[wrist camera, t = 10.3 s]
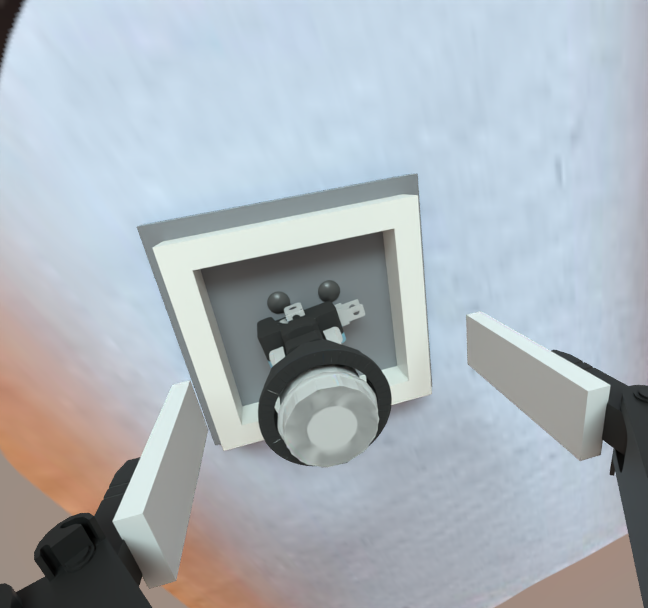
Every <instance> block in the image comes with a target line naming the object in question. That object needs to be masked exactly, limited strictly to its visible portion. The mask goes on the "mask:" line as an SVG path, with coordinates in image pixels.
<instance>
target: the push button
mask: <svg viewBox="0 0 648 608" xmlns="http://www.w3.org/2000/svg"><path fill="white" fill-rule="evenodd" d="M351 304H354V305H355V306H354V307H351V308H349V306H350V305H351ZM293 307H296V308H295V309H292V310H290V309H291V308H293ZM358 311H359V314H358V315H354V314H353V313H355V312H358ZM284 312H285V315H286V317H284V318H281V319H278V320H276V321H275V320H274V319H273V318H272V317H268V318H265V319H263V320H260V321H259V322H258V323H257V338H258V340H259V342H260V344H261V347H262V349H263V351H264V353H265V356H266V358H267V360H268V362H269V365H270V367H271V370H270V373H269V375H268V377H267V380H266V382H265V384H264V388H263V390H262V392H261V395H260V398H259V404H258V423H259V428H260V431H261V434H262V436H263V438H264V440H265V442H266V443H267V445H268V446H269V447H270V448H271V449H272V450H273V451H274V452H275V453H276V454H278V455H279V456H281V457H282V458H284V459H286V460H288V461H290V462H293V463H296V464H300V465H306V466H319V467H330V466H335V465H339V464H344V463H347V462H349V461H350V460H352V459H353V458H355V457H357V456H358V455H360V454H361V453H363V452H364V451H365V450H366V449H367V447H368V446H369V445H370V444H372V443H373V442H374V440H375V439H376V438H377V437H378V436H379V434H380V433H381V432H382V430H383V428H384V427H385V425H386V423H387V420H388V418H389V415H390V411H391V404H392V397H391V390H390V386H389V383H388V381H387V379H386V377H385V375H384V374H383V372H382V371H381V369H380V368H379V366H378V365H377V364H376V363H375V362H374V361H373V360H372V359H371V358H369V357H368V356H366V355H365V354H363V353H361V352H360V351H359V350H357V349H354V348H351V347H348V346H345V345H342V344H341V343H343V342H345V341H346V337H345V334H344V331H343V328H342V326H345V325H348V324H350V323H349V321H352V320H354V319H357V318H360V317H362V316H365V311H364V308H363V305H362V304H359V301H358V300H357V299H356V300H353V301H350V302H348V303H345V304H341V303H339V304H336V305H334V304H333V303H332V302H331V301H327V302H324V303H321V304H318V305H316V306H313V307H310V308H308V309H305V310H303V308H302V305H301V303H295V304H293V305H290V306H287V307H285V308H284ZM356 369H357V370H358V371H360V372H362V373H363V374H364V375H365V376H366V382H365V381H364V380H363V379H361V378H360V377H359V375H358V373H357V371H356ZM278 396H279V398H280V405H281V406H280V408H279V411H278V413H277V411H276V409H275V404H276V401H277V399H278Z"/></svg>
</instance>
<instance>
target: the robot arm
mask: <svg viewBox="0 0 648 608" xmlns="http://www.w3.org/2000/svg"><path fill="white" fill-rule="evenodd" d="M466 327H467V361H468V365H469V366H470V367H472V368H473V369H474V370H475V371H476V372H477V373H478V374H480V375H481V376H482V377H483V378H484V379H485V380H487V381H488V382H489V383H490V384H491V385H492V386H494V387H495V388H496V389H497V390H498V391H499V392H501V393H502V394H503V395H504V396H505V397H506V398H508V399H509V400H510V401H511V402H512V403H513V404H514V405H516V406H517V407H518V408H519V409H520V410H521V411H523V412H524V413H525V414H526V415H527V416H528V417H530V418H531V419H532V420H533V421H534V422H535V423H537V424H538V425H539V426H540V427H541V428H542V429H543V430H545V431H546V432H547V433H548V434H549V435H550V436H552V437H553V438H554V439H555V440H556V441H557V442H559V443H560V444H561V445H562V446H563V447H564V448H566V449H567V450H568V451H569V452H570V453H571V454H573V455H574V456H575V457H576V458H577V459H578V460H579V461H582V460H585V459H589V458H592V457H595V456H599V455H601V449H602V442H603V440H604V441H605V442H606V443H608V444H609V445H610V446H612V447H613V448H614V449H613V455H612V462H611V468H610V475H613V476H614V473H615V472H616V477H617V482H618V486H619V491H620V496H621V501H622V505H623V510H624V515H625V520H626V524H627V529H628V534H629V538H630V543H631V548H632V552H633V558H634V562H635V567H636V572H637V577H638V581H639V586H640V591H641V596H642V600H643V605H644V608H648V386H645V385H633V386H627V385H625V384H623V383H622V382H620V381H618V380H616V379H614V378H612V377H611V376H609V375H607V374H605V373H603V372H601V371H600V370H598V369H596V368H593V367H592V366H590V365H589V364H587V363H585V362H584V363H583V362H582V361H581V360H579V359H578V358H576V357H574V356H572V355H570V354H567V353H564V352H561V351H557V350H552V351H550V350H548V349H546V348H545V347H543V346H541V345H539V344H538V343H536V342H534V341H532V340H531V339H529V338H527V337H525V336H523V335H522V334H520V333H518V332H516V331H515V330H513V329H511V328H509V327H508V326H506V325H504V324H502V323H501V322H499V321H497V320H495V319H494V318H492V317H490V316H488V315H487V314H485V313H483V312H481V311H480V312H475V313H471V314H467V315H466ZM207 433H208V429H207V426H206V423H205V420H204V417H203V415H202V412H201V409H200V406H199V404H198V401H197V398H196V395H195V392H194V390H193V387H192V384H191V381H186V382H181V383H177V384H173V385H172V387H171V389H170V392H169V394H168V396H167V398H166V401H165V403H164V405H163V408H162V410H161V412H160V414H159V417H158V419H157V421H156V423H155V426H154V428H153V430H152V433H151V435H150V437H149V439H148V442H147V444H146V446H145V449H144V451H143V453H142V455H141V457H139V458H136V459H132V460H128V461H126V463H125V464H124V465H123V466H122V467H121V468H120V469H119V470H118V471H117V472H116V474H115V476H114V478H113V480H112V482H111V484H110V486H109V489H108V490H107V492H106V494H105V496H104V500H102V502H101V504H100V506H99V508H98V510H97V512H96V514H95V516H93V515H91V514H90V513H80V514H77V515H74V516H71V517H69V518H67V519H65V520H64V521H62V522H60V523H59V524H57V525H56V526H55V527H54V528H53V529H51V530H50V531H49V532H48V533H47V534H46V535H45V536H44V537H43V539H42V540H41V541H40V542H39V544H38V546H37V548H36V550H35V552H34V560H35V562H36V563H37V565H38V566H39V567H40V569H41V570H42V572H43V573H44V575H45V577H43V578H41V579H40V580H38V581H36V582H34V583H32V584H30V585H29V586H27V587H25V588H23V589H21V590H19V591H17V592H15V591H14V589H12V587H11V586H10V585H7V584H5V583H4V584H0V608H152V607H151V605H150V603H149V602H148V600H147V599H146V597H145V596H144V595H143V593H142V591H141V590H140V588H139V585H140V581H141V578H142V577H143V579H144V581H145V582H146V584H147V586H148V588H149V589H151V588H154V587H158V586H161V585H164V584H168V583H171V582H174V581H176V579H177V574H178V569H179V565H180V560H181V555H182V551H183V546H184V541H185V536H186V532H187V527H188V522H189V518H190V513H191V508H192V503H193V499H194V494H195V489H196V485H197V480H198V475H199V470H200V466H201V461H202V456H203V452H204V447H205V442H206V437H207Z"/></svg>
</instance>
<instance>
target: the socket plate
mask: <svg viewBox="0 0 648 608" xmlns="http://www.w3.org/2000/svg"><path fill="white" fill-rule="evenodd" d="M137 229H138V232H139V235H140V238H141V240H142V243H143V246H144V249H145V251H146V254H147V257H148V260H149V263H150V265H151V268H152V271H153V274H154V276H155V279H156V282H157V285H158V288H159V290H160V293H161V296H162V299H163V302H164V304H165V307H166V310H167V313H168V315H169V318H170V321H171V324H172V327H173V329H174V332H175V335H176V338H177V340H178V343H179V346H180V349H181V352H182V354H183V357H184V360H185V363H186V365H187V368H188V371H189V374H190V377H191V379H192V382H193V385H194V388H195V390H196V393H197V396H198V399H199V402H200V404H201V407H202V410H203V413H204V415H205V418H206V421H207V424H208V427H209V429H210V432H211V435H212V438H213V440H214V443H215V445H219V444H221V445H222V448H223V451H226V450H230V449H233V448H237V447H241V446H244V445H248V444H252V443H255V442H259V441H262V440H264V438H263V436H262V434H261V431H260V428H259V423H258V404H259V398H260V395H261V392H262V390H263V388H264V384H265V382H266V380H267V377H268V375H269V373H270V370H271V367H270V365H269V362H268V360H267V358H266V356H265V353H264V351H263V349H262V347H261V344H260V342H259V340H258V338H257V323H258V322H259V321H260V320H263V319H265V318H268V317H272V318H273V319H274V320H275V321H276V320H278V319H281V318H284V317H286V315H285V312H284V308H285V307H287V306H290V305H293V304H295V303H301V305H302V308H303V310H305V309H308V308H310V307H313V306H316V305H318V304H321V303H324V302H327V301H331V302H332V303H333V304H334V305H336V304H339V303H341V304H345V303H348V302H350V301H353V300H356V299H357V300H358V301H359V304H362V305H363V308H364V311H365V316H362V317H360V318H357V319H354V320H352V321H349V323H350V324H348V325H345V326H342V328H343V331H344V334H345V337H346V341H345V342H343V343H341V344H342V345H345V346H348V347H351V348H354V349H357V350H359V351H360V352H361V353H363V354H365V355H366V356H368V357H369V358H371V359H372V360H373V361H374V362H375V363H376V364H377V365H378V366H379V368H380V369H381V371H382V372H383V374H384V375H385V377H386V379H387V381H388V383H389V386H390V390H391V397H392V404H391V405H394V404H397V403H401V402H405V401H408V400H412V399H415V398H419V397H423V396H426V395H430V394H432V390H431V387H432V377H431V363H430V348H429V334H428V319H427V305H426V290H425V276H424V261H423V247H422V232H421V217H420V203H419V188H418V174H408V175H403V176H397V177H392V178H387V179H381V180H376V181H371V182H366V183H360V184H355V185H350V186H344V187H339V188H334V189H329V190H323V191H318V192H313V193H308V194H302V195H297V196H292V197H286V198H281V199H276V200H271V201H265V202H260V203H255V204H250V205H244V206H239V207H234V208H228V209H223V210H218V211H213V212H207V213H202V214H197V215H192V216H186V217H181V218H176V219H170V220H165V221H160V222H155V223H149V224H144V225H140V226H138V227H137ZM354 306H355V305H354V304H351V305H350V306H349V308H351V307H354ZM295 308H296V307H293V308H291V309H290V310H292V309H295ZM353 314H354V315H358V314H359V311H358V312H355V313H353ZM356 371H357V373H358V375H359V377H360V378H361V379H363V380H364V381H365V382H366V376H365V375H364V374H363V373H362V372H360V371H358V370H357V369H356ZM280 406H281V405H280V398H279V396H278V399H277V401H276V404H275V409H276V411H277V413H278V411H279V408H280Z"/></svg>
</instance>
